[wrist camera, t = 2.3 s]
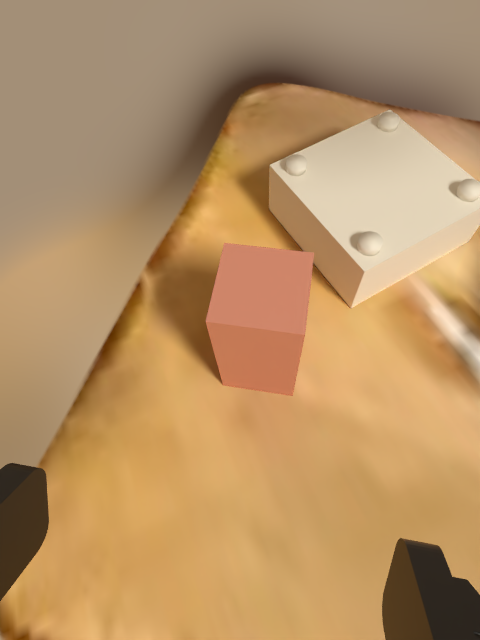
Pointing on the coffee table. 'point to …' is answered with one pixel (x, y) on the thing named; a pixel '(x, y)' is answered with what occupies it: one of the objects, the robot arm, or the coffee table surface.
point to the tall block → (260, 316)
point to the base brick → (374, 204)
